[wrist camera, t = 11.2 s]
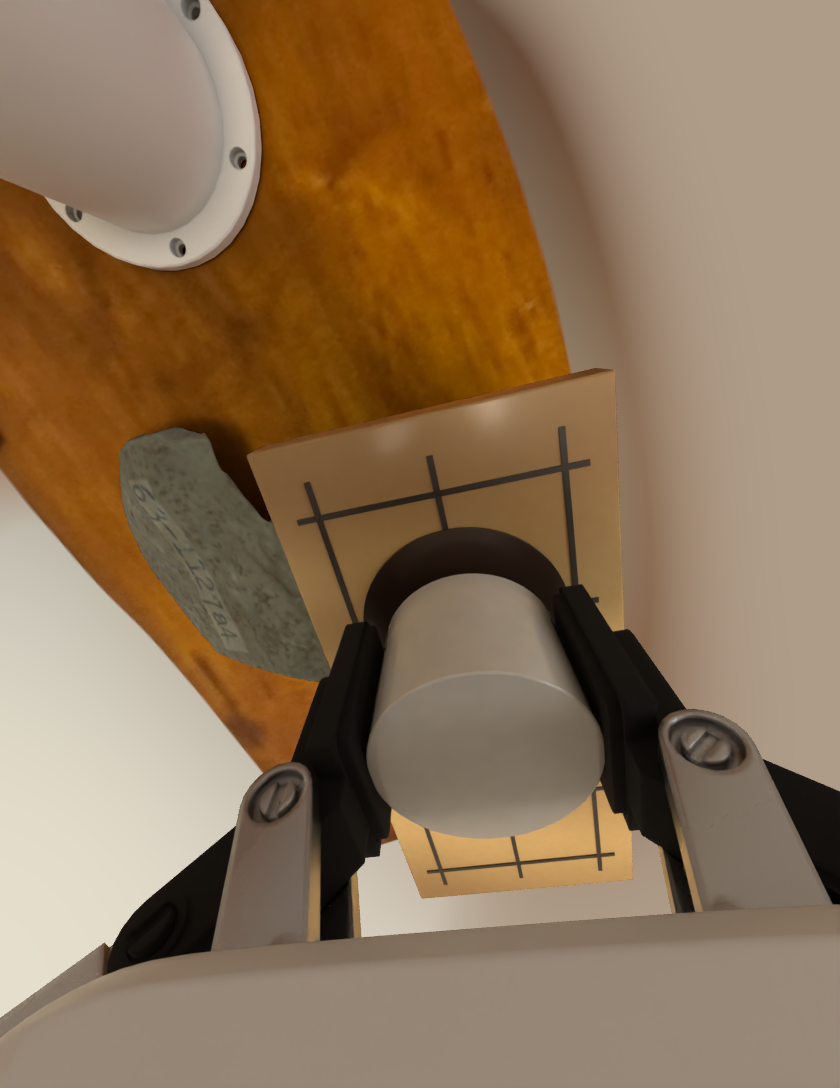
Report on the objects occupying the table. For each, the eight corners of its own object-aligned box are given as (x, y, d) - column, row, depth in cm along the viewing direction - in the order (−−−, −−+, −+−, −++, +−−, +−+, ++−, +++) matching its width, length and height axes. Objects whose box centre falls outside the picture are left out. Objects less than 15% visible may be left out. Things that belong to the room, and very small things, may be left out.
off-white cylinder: (365, 590, 11) (335, 694, 7) (547, 557, 10) (601, 652, 7) (407, 720, 13) (397, 849, 9) (563, 698, 12) (611, 827, 9)
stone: (52, 470, 28) (201, 406, 21) (111, 450, 31) (255, 390, 25) (206, 685, 35) (351, 686, 29) (240, 650, 39) (376, 644, 32)
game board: (360, 393, 27) (242, 455, 10) (500, 359, 26) (618, 368, 9) (427, 642, 35) (421, 902, 18) (537, 624, 34) (634, 883, 17)
